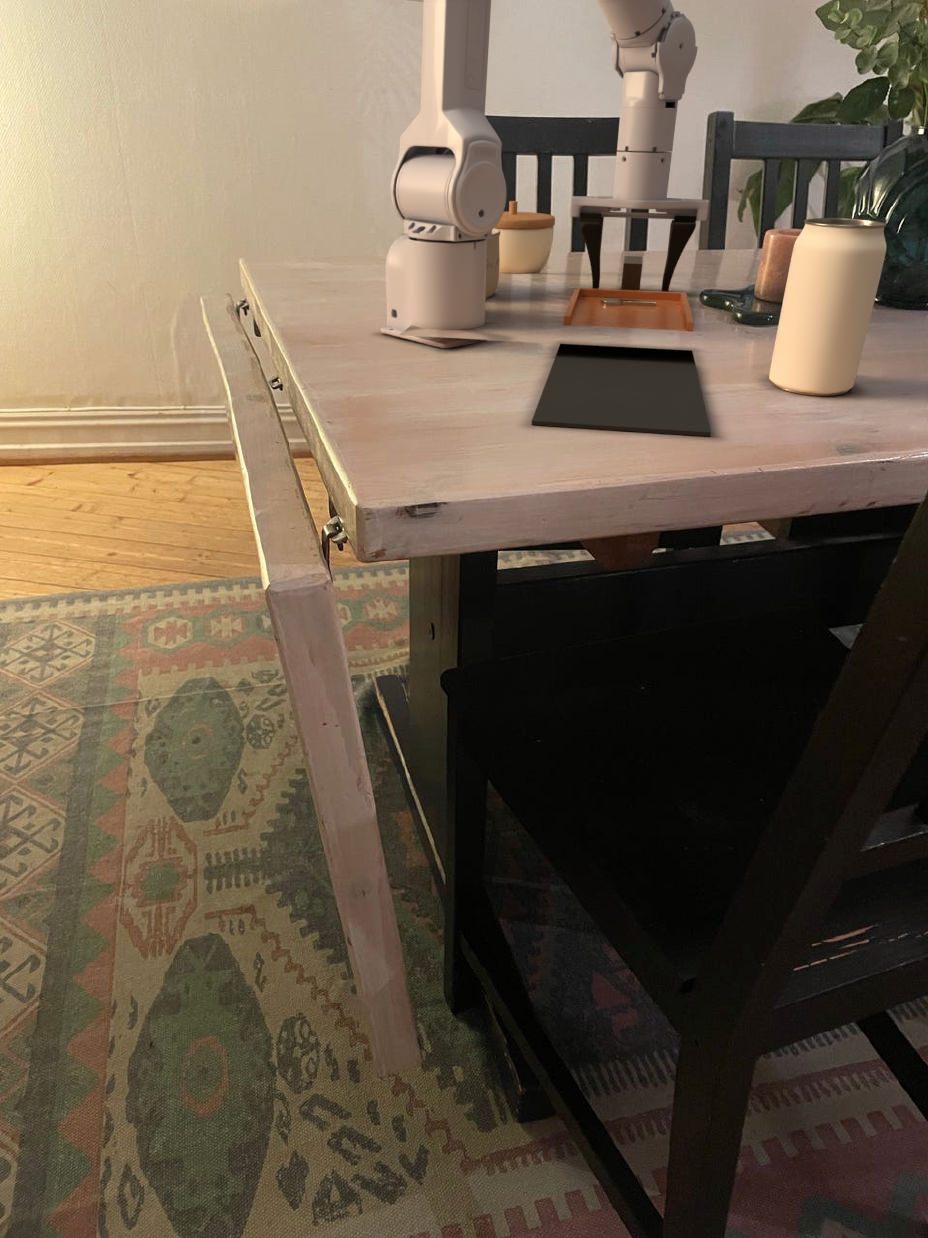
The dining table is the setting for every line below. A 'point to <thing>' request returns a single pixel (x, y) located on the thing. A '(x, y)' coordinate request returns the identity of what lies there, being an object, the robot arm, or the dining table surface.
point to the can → (827, 305)
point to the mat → (623, 391)
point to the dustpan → (665, 316)
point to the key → (626, 302)
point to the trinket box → (524, 240)
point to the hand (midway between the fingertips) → (630, 288)
